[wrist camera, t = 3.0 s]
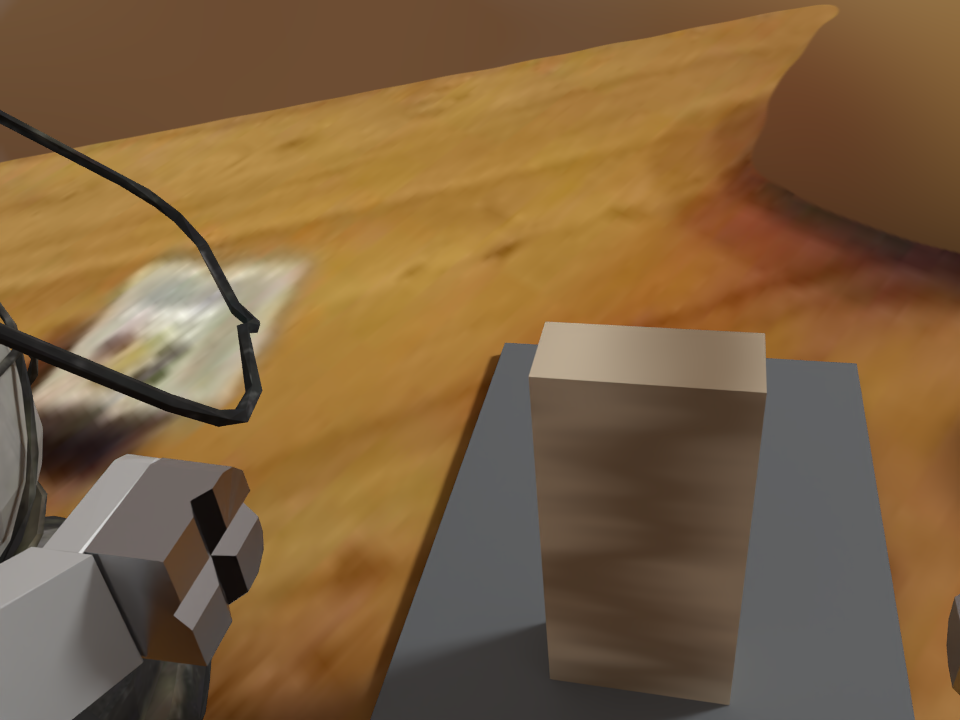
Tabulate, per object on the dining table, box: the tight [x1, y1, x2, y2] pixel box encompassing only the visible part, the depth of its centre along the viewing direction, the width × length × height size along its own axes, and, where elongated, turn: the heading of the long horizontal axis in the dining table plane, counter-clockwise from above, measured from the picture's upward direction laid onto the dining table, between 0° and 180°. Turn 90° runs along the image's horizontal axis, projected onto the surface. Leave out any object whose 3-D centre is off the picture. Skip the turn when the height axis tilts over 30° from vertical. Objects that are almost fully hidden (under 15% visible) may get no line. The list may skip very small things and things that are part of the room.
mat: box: [370, 343, 915, 720], centre depth 34 cm, size 16×22×1 cm
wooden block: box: [529, 322, 767, 705], centre depth 26 cm, size 6×2×12 cm, turn 77°
